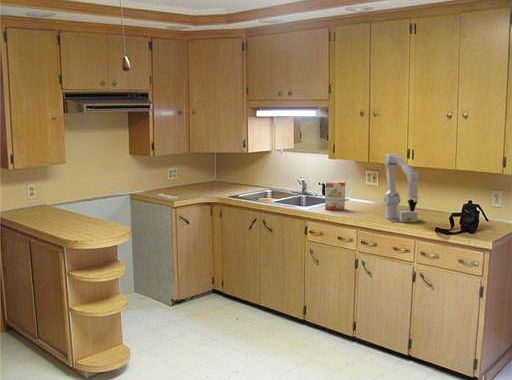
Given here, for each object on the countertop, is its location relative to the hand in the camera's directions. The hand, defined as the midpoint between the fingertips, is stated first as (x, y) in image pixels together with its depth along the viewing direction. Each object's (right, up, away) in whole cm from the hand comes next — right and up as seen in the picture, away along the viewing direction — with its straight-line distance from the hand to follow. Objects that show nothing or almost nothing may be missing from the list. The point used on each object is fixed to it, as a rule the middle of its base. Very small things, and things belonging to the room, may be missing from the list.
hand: (412, 211), depth 357 cm
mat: (0, -7, +12) cm, 14 cm away
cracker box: (-43, -1, +52) cm, 68 cm away
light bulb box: (0, -4, +6) cm, 7 cm away
